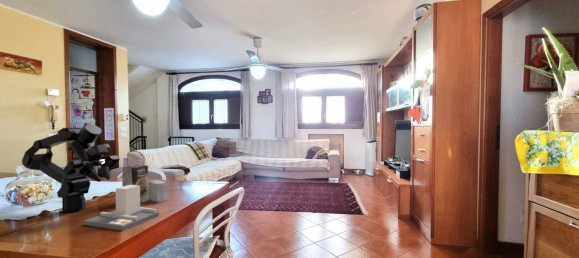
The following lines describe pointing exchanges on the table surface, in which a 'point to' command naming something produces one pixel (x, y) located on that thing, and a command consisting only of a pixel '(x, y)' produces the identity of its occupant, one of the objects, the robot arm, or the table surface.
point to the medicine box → (157, 191)
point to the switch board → (122, 219)
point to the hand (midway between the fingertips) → (104, 180)
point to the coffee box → (137, 178)
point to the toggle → (128, 199)
